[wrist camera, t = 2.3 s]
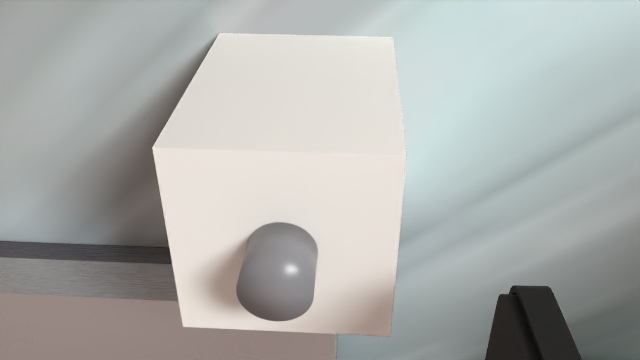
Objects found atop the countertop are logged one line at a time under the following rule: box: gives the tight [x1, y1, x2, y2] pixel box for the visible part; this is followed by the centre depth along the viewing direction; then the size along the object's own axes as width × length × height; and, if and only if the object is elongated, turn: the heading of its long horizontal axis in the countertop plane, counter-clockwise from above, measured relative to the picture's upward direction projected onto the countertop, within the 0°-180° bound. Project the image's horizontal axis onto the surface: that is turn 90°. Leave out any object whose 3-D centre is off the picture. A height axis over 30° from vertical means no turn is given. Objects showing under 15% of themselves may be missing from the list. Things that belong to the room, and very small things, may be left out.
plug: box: [152, 33, 407, 336], centre depth 14 cm, size 4×4×7 cm
